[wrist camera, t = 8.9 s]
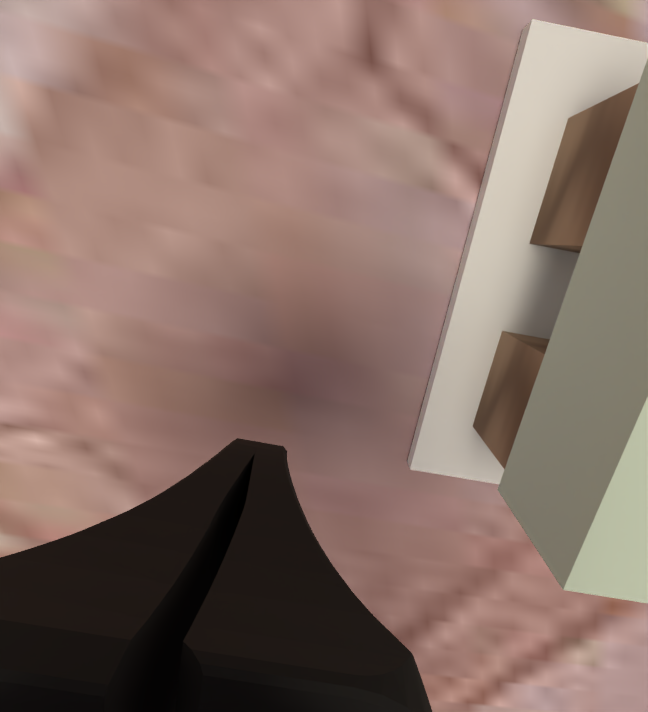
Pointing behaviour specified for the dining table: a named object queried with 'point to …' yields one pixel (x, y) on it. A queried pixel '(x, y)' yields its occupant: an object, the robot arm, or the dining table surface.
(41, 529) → the dining table surface
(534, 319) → the off-white flat rectangular panel
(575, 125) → the walnut pillars
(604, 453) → the sage lintel
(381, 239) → the dining table surface
